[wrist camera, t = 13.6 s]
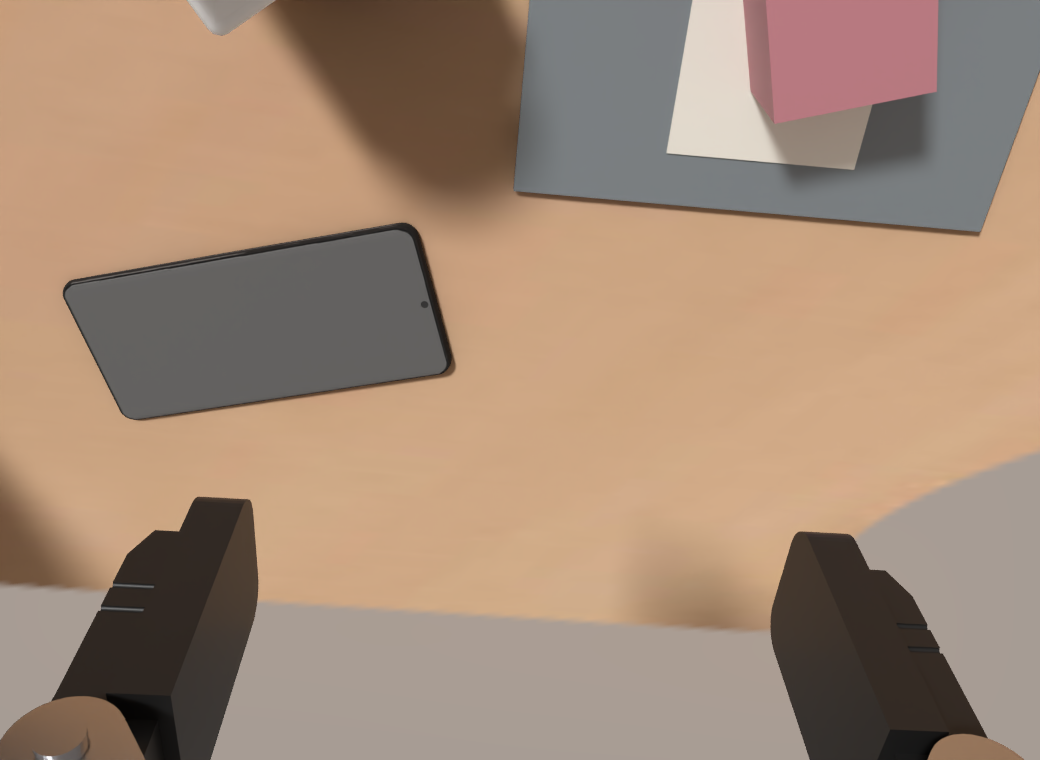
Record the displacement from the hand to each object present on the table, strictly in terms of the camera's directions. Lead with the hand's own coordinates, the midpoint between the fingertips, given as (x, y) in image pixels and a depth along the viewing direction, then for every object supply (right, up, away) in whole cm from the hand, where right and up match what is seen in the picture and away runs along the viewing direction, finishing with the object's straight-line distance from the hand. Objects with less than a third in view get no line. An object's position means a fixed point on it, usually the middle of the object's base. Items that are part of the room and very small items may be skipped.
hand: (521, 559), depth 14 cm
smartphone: (-11, +5, +26) cm, 28 cm away
